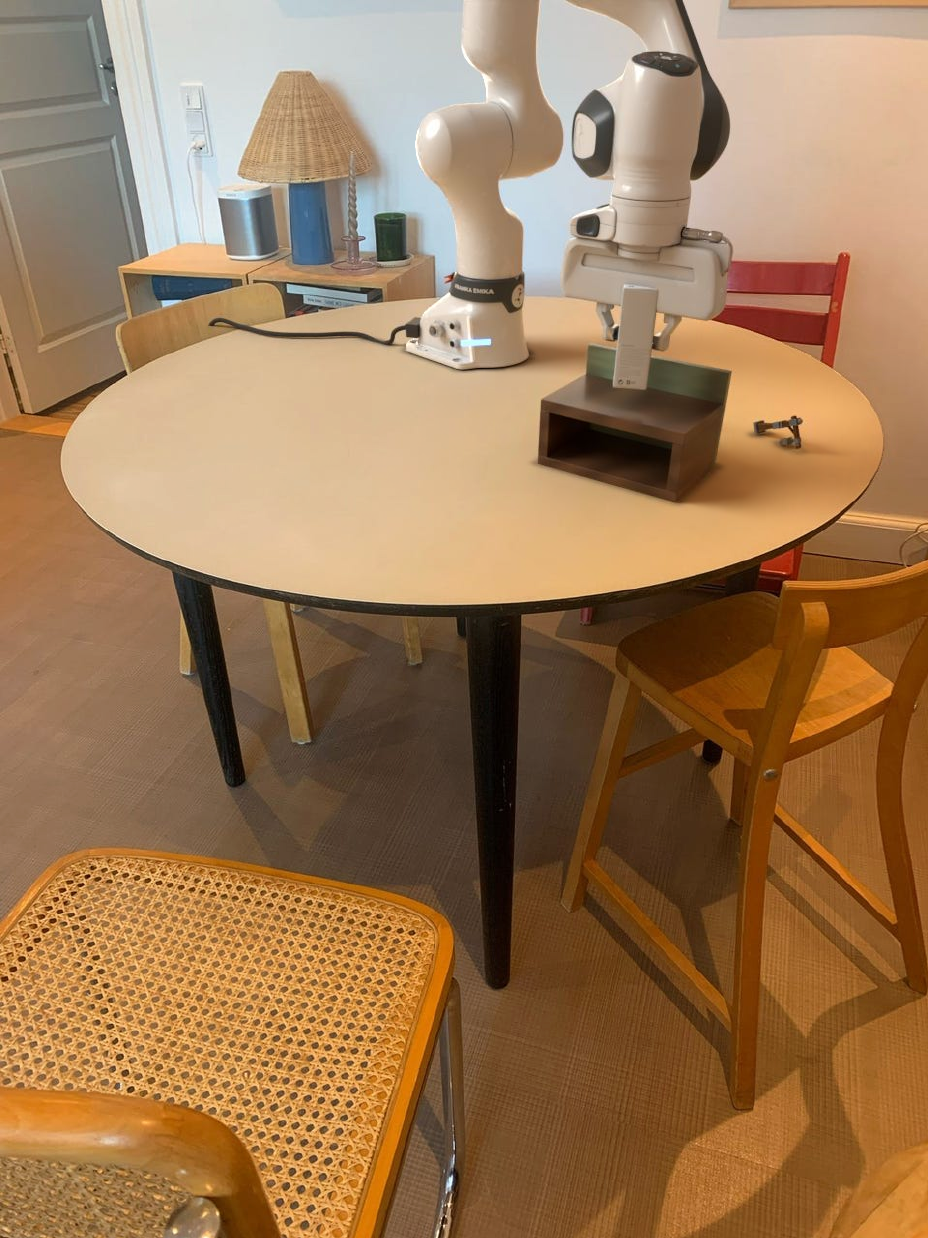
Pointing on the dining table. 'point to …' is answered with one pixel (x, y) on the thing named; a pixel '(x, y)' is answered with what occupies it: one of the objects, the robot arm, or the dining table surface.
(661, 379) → the shelf
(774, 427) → the wooden post with brackets
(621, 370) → the cosmetic box
